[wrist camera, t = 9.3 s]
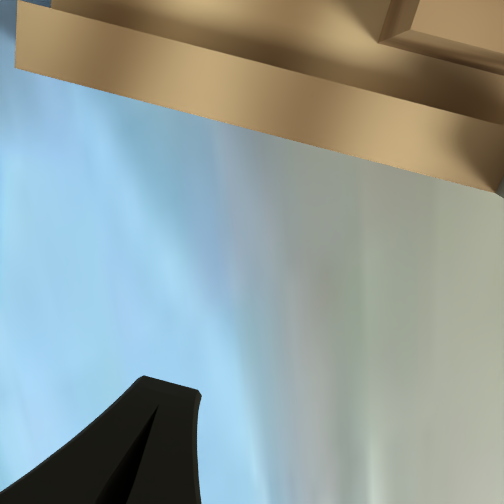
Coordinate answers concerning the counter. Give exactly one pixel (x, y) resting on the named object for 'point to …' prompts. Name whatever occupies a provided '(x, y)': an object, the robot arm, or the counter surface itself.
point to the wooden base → (280, 76)
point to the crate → (449, 31)
